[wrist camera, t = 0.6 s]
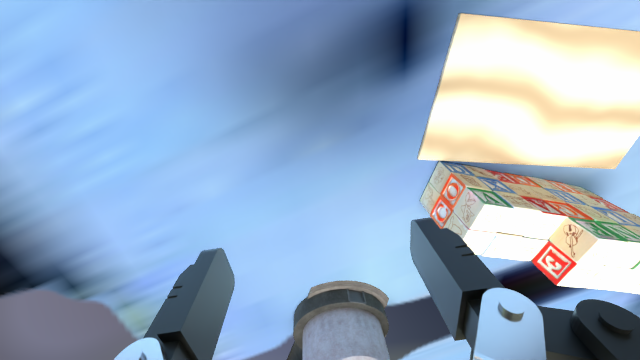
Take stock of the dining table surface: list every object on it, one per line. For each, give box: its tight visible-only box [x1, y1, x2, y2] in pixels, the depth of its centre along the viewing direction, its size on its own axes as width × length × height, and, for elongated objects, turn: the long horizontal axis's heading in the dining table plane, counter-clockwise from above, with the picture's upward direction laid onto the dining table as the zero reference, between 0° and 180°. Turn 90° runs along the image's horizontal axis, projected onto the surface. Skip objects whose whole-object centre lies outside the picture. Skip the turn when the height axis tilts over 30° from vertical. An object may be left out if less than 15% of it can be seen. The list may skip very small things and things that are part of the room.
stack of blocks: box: [420, 161, 640, 294], centre depth 28 cm, size 21×6×12 cm, turn 78°
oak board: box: [417, 13, 640, 169], centre depth 27 cm, size 14×26×1 cm, turn 86°
